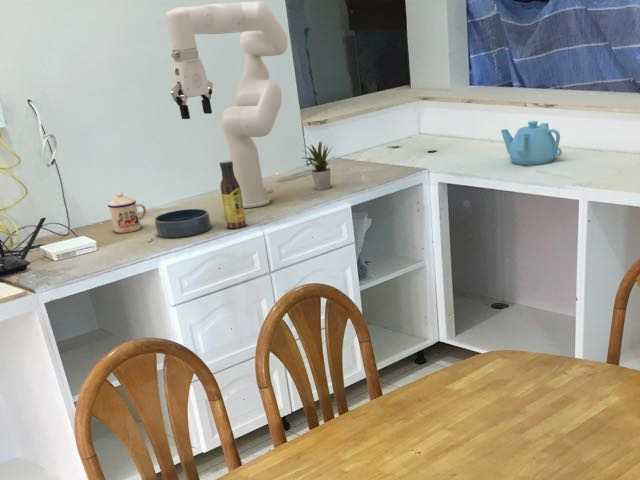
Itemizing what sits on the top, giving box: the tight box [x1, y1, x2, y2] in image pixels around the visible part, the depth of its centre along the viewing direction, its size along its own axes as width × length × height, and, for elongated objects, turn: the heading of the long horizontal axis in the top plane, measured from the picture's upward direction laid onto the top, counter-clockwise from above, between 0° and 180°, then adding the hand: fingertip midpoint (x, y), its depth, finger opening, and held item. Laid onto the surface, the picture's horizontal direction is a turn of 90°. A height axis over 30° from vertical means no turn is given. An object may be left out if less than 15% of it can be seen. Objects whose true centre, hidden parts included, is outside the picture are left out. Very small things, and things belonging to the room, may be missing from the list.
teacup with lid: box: [107, 192, 147, 234], centre depth 309 cm, size 12×9×12 cm
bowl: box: [153, 208, 212, 238], centre depth 301 cm, size 17×17×5 cm
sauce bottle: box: [219, 160, 246, 229], centre depth 297 cm, size 7×6×20 cm
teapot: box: [500, 120, 563, 166], centre depth 346 cm, size 19×19×14 cm
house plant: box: [302, 140, 335, 191], centre depth 338 cm, size 14×14×16 cm
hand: (197, 116), depth 294 cm, fingers open, 9 cm apart
